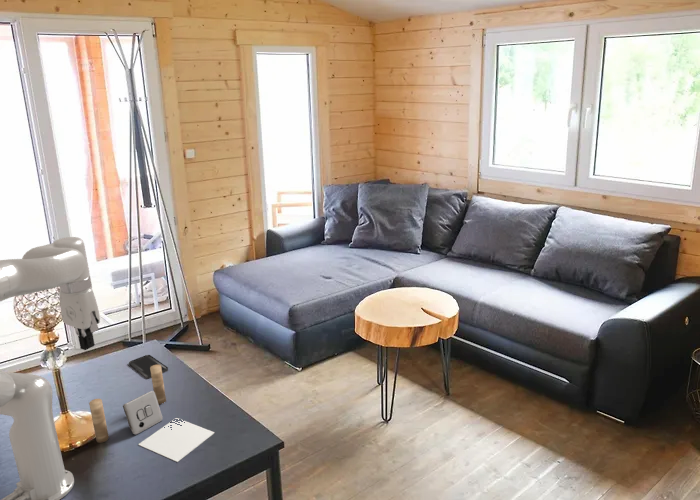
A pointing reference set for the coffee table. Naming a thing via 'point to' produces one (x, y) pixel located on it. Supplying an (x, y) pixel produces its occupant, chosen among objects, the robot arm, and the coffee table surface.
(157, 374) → the far oak dowel
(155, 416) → the electrical switch
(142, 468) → the coffee table surface
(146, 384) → the coffee table surface
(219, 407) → the coffee table surface
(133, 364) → the phone
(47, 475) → the robot arm
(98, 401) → the near oak dowel
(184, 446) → the mat
